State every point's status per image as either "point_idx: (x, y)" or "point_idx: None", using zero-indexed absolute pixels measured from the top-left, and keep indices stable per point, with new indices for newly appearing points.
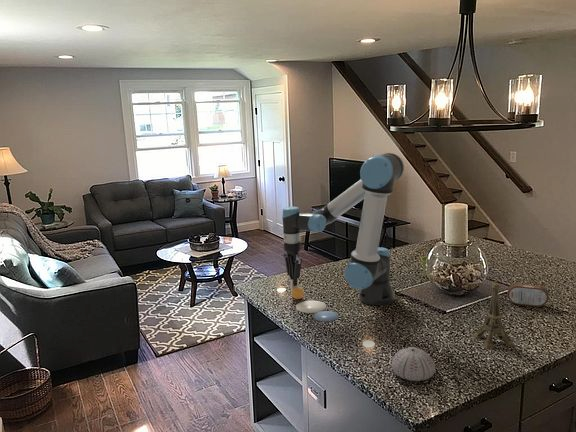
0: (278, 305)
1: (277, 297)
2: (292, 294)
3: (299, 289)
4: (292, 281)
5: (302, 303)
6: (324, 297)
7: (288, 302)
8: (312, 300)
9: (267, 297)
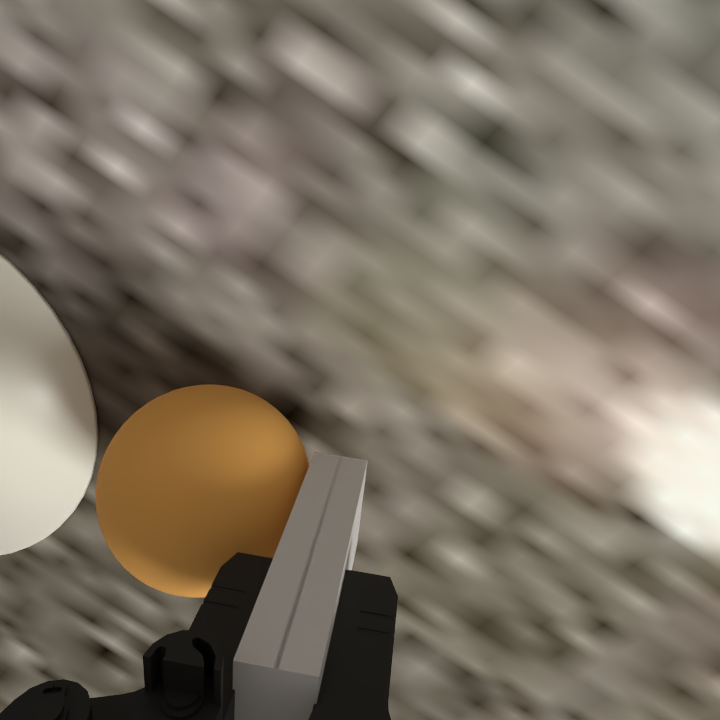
0: (180, 48)
1: (501, 246)
2: (199, 395)
3: (107, 534)
4: (253, 620)
5: (38, 375)
6: (95, 652)
7: (199, 259)
8: (65, 518)
9: (649, 99)
